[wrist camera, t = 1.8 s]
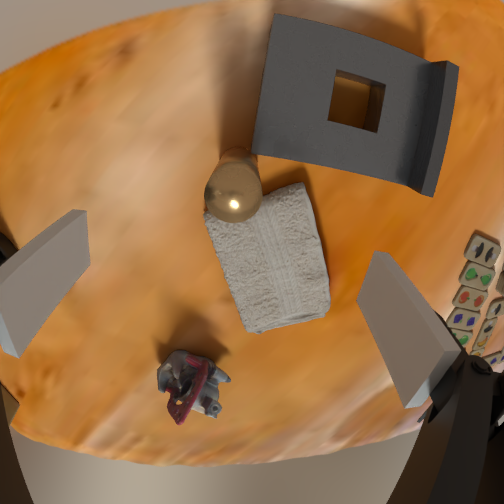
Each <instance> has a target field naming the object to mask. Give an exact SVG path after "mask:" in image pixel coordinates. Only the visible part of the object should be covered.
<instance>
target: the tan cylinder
mask: <svg viewBox="0 0 504 504" xmlns="http://www.w3.org/2000/svg"><path fill="white" fill-rule="evenodd" d="M262 197H263V195H262V187H261V181H260V176H259V170H258V164H257V159H256V157H255V155H254V154H251V151H250V150H249V149H247V148H244V147H233V148H230V149H229V150H227V151H226V152H225V153H224V154H223V155H222V157H221V159H220V161H219V162H218V164H217V166H216V168H215V170H214V171H213V173H212V175H211V177H210V179H209V181H208V182H207V185H206V187H205V192H204V198H205V203H206V206H207V208H208V210H209V211H210V212H211V214H212V215H213V216H215V217H216V218H217V219H219V220H221V221H224V222H227V223H240V222H244V221H246V220H248V219H250V218H251V217H252V216H254V215H255V214H256V212H257V211H258V210H259V208H260V206H261V203H262Z"/></svg>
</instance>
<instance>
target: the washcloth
mask: <svg viewBox="0 0 504 504" xmlns="http://www.w3.org/2000/svg"><path fill="white" fill-rule="evenodd" d="M203 216H204V220H205V226H207V230H208V233H209V236H210V237H211V240H212V241H213V247H214V248H215V251H216V255H217V257H218V258H219V261H220V263H221V267H222V269H223V271H224V277H225V279H226V281H227V283H228V284H229V288H230V290H231V294H232V296H233V298H234V300H235V304H236V307H237V309H238V312H239V314H240V318H241V320H242V322H243V325H244V327H245V329H246V331H247V332H254V333H256V334H261V333H262V332H264V331H266V330H270V329H273V328H277V327H283V326H287V325H291V324H296V323H301V322H306V321H309V320H313V319H316V318H320V317H324V316H325V313H326V312H327V311H328V310H329V308H330V302H331V298H330V292H329V277H328V273H327V268H326V264H325V260H324V256H323V251H322V246H321V245H322V244H321V241H320V238H319V234H318V231H317V227H316V223H315V218H314V213H313V209H312V205H311V202H310V199H309V197H308V194H307V192H306V187H305V185H304V183H303V182H301V183H294V184H292V185H288V186H286V187H284V188H279V189H277V190H275V191H273V192H270V194H267V195H264V196H263V197H262V203H261V206H260V208H259V210H258V211H257V212H256V214H255V215H254V216H252V217H251V218H250V219H248V220H246V221H244V222H240V223H227V222H224V221H221V220H219V219H217V218H216V217H215V216H213V215H212V214H211V212H210V211H209V210H208V211H206V212H205V213H204V214H203Z"/></svg>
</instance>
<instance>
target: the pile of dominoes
mask: <svg viewBox="0 0 504 504" xmlns="http://www.w3.org/2000/svg"><path fill="white" fill-rule="evenodd" d="M500 252H501V247H500V246H499V245H498V244H497V243H495V242H493V241H491V240H489V239H487V238H484V237H482V236H480V235H478V234H473V235H472V236H471V238H470V240H469V243H468V245H467V247H466V249H465V251H464V257H465V258H466V259H469V261H468V262H467V263H466V265H465V267H464V269H463V271H462V272H461V274H460V276H459V282H460V283H461V284H463V285H462V286H461V287H460V288H459V290H458V292H457V294H456V295H455V297H454V299H453V301H452V304H453V305H454V306H456V308H455V309H454V310H453V311H452V313H451V314H450V316H449V317H448V319H447V320H446V323H447V325H448V327H450V329H451V330H452V332H453V334H454V335H455V336H456V337H457V339H458V340H459V342H460V343H461V345H462V346H463V347H465V346H466V344H467V343H468V342H469V340H470V339H471V338H472V336H473V333H472V331H469V330H471V329H472V328H473V327H474V325H475V324H476V323H477V321H478V320H479V318H480V312H478V310H479V309H480V308H481V307H482V305H483V304H484V302H485V300H486V299H487V297H488V292H487V291H486V289H487V288H488V287H489V285H490V284H491V282H492V280H493V278H494V276H495V270H494V269H493V268H491V267H492V266H493V265H494V264H495V262H496V260H497V258H498V256H499V254H500ZM502 269H503V272H502V273H501V274H500V276H499V279H498V283H497V286H496V291H497V292H499V293H500V294H501V295H502V296H503V297H504V263H503V267H502ZM503 314H504V298H500V299H497V300H494V301H492V302H491V303H490V305H489V308H488V311H487V313H486V319H485V320H484V322H483V324H482V326H481V328H480V331H479V333H478V335H477V338H476V340H475V342H474V344H473V347H472V349H473V350H472V351H471V352H470V354H469V355H477V356H479V357H481V356H482V354H483V352H484V347H485V346H486V344H487V342H488V340H489V338H490V336H491V333H492V331H493V329H494V327H495V324H496V322H497V316H500V315H503ZM465 351H466V350H465ZM483 359H484V360H486V361H487V362H488V364H489V365H490V366H493V365H495V364H500V363H502V362H504V347H503V349H502V351H501V352H497V353H494V354H492V355H489V356H486V357H483Z"/></svg>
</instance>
